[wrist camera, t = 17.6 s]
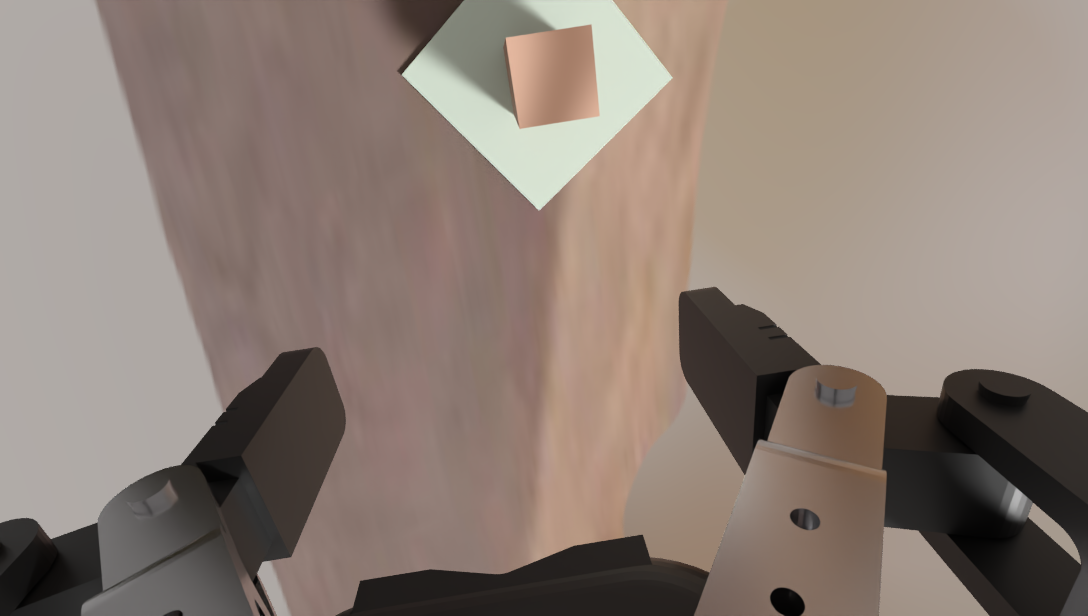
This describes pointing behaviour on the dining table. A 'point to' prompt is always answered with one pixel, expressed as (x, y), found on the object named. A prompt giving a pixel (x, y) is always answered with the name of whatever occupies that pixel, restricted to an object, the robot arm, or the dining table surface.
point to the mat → (484, 94)
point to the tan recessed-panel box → (552, 76)
